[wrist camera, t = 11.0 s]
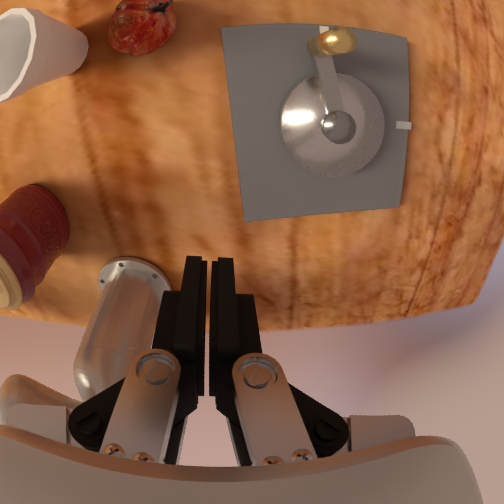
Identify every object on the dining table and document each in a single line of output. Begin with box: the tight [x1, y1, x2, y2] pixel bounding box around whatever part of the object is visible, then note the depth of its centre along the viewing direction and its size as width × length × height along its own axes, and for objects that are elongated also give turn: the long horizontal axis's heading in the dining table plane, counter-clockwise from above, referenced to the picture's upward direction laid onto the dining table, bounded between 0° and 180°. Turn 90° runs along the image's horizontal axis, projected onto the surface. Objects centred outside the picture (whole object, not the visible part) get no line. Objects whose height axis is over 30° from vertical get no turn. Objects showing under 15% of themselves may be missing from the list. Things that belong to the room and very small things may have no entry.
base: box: [221, 24, 412, 222], centre depth 29 cm, size 24×22×2 cm
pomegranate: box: [108, 0, 177, 56], centre depth 19 cm, size 7×7×10 cm
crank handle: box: [279, 26, 385, 177], centre depth 23 cm, size 16×12×9 cm
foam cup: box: [0, 8, 89, 103], centre depth 16 cm, size 10×9×13 cm
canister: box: [0, 185, 69, 310], centre depth 27 cm, size 13×13×18 cm
